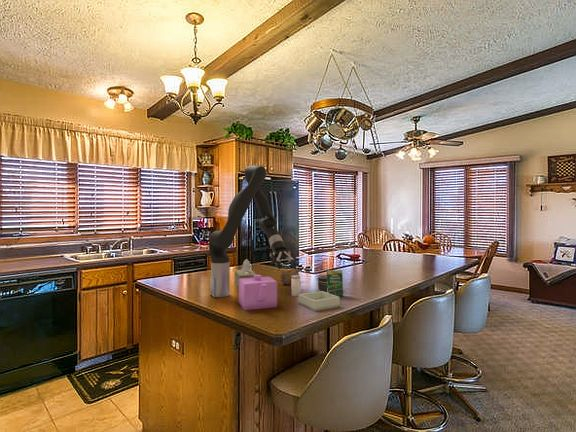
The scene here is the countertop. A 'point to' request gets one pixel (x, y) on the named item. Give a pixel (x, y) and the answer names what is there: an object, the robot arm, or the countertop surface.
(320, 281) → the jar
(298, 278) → the salt shaker
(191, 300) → the countertop surface
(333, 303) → the bin
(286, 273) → the tin
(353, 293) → the countertop surface
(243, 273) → the tissue box
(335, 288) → the coffee box
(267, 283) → the pink storage box
